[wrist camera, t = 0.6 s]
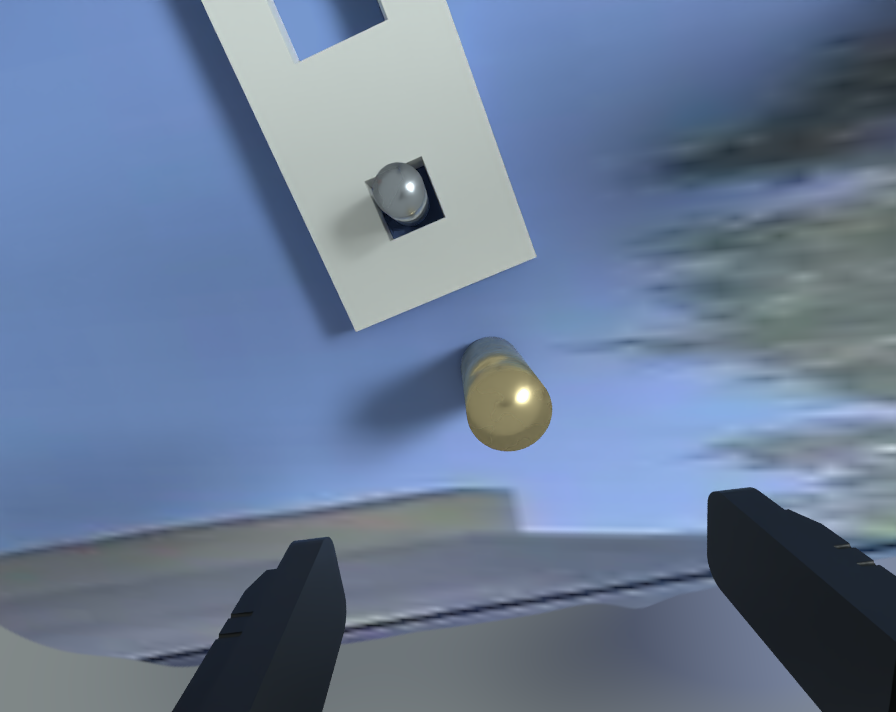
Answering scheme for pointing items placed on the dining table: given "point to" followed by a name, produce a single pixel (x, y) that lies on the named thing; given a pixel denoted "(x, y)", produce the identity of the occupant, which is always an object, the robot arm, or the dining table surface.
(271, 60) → the plate
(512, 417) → the cylinder
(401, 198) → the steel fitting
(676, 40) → the dining table surface
